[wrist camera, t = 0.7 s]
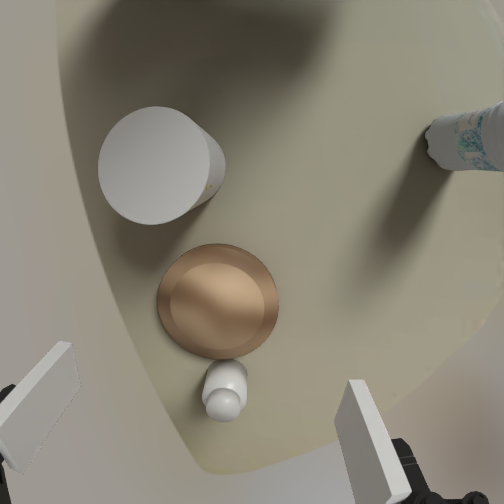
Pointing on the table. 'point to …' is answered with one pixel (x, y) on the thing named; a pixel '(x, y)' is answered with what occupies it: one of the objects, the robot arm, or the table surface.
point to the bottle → (469, 140)
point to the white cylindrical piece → (159, 165)
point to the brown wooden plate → (218, 301)
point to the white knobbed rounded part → (225, 390)
